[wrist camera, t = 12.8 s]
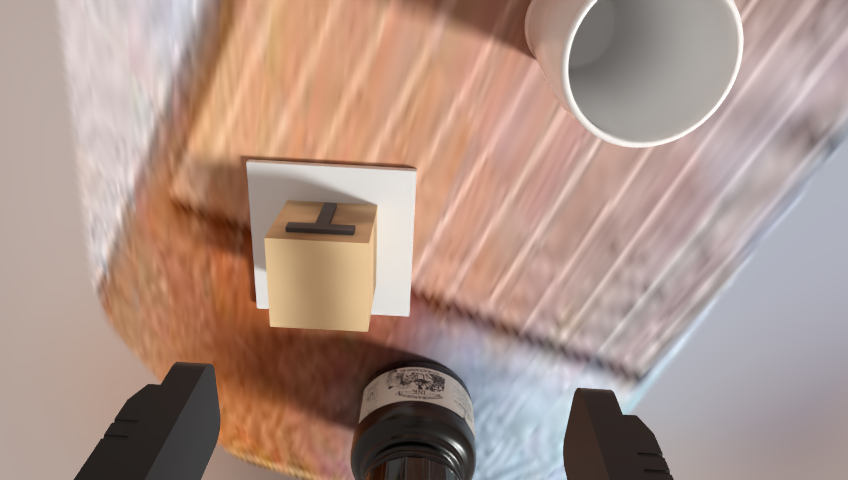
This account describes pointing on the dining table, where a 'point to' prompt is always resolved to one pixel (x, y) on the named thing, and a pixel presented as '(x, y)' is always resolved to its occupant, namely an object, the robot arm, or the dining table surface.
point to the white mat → (341, 185)
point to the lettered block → (322, 265)
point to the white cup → (637, 63)
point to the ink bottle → (414, 425)
